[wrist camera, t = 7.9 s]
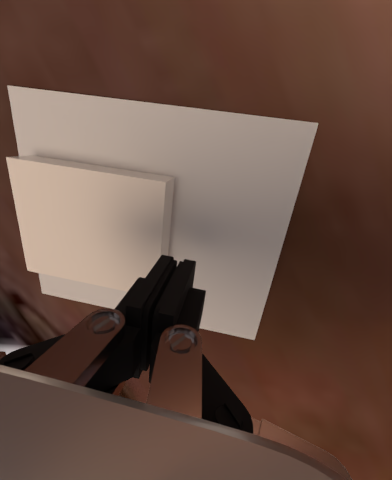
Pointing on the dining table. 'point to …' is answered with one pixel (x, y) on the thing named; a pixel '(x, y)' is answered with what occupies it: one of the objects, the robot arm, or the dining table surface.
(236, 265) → the mat
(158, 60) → the dining table surface
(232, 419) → the robot arm
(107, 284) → the tile
